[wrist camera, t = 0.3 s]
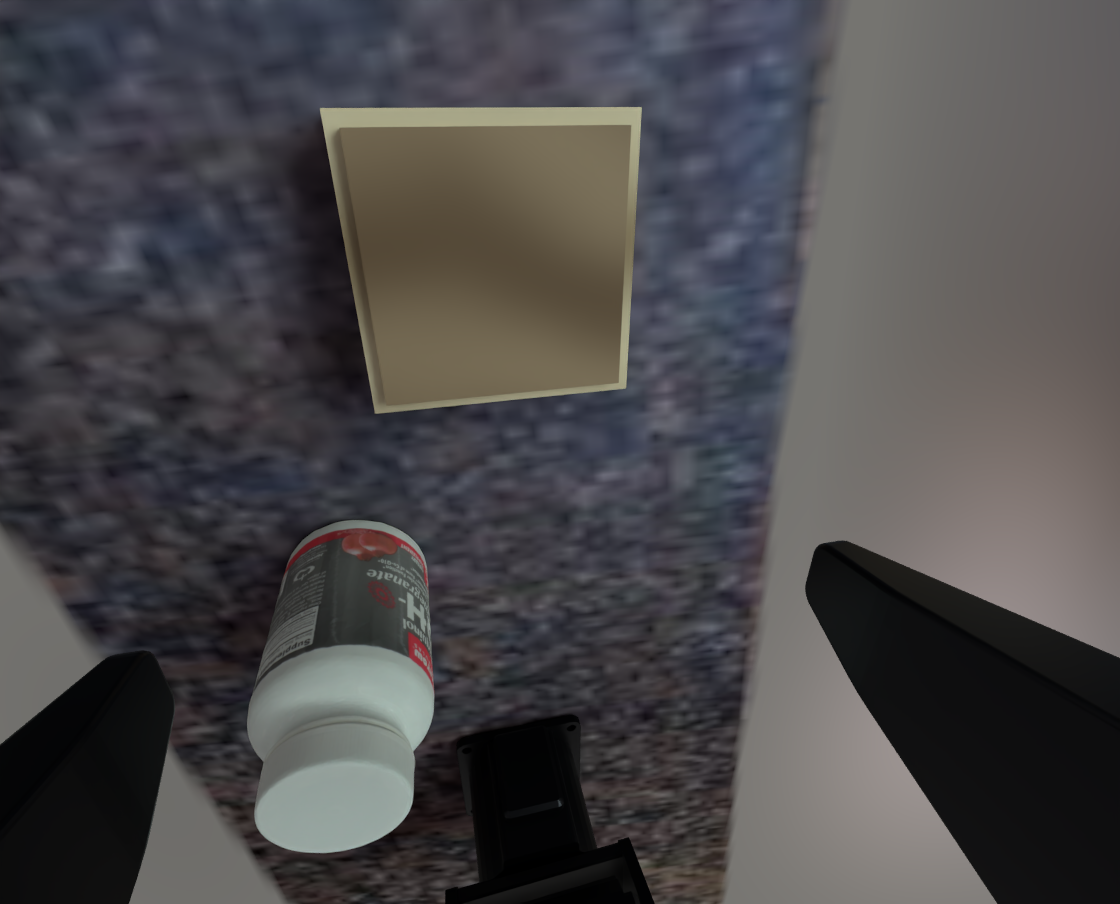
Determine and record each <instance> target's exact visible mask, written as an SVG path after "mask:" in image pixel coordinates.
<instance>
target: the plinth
mask: <svg viewBox="0 0 1120 904" xmlns="http://www.w3.org/2000/svg"><path fill="white" fill-rule="evenodd" d="M641 111H642V107H551V108H320V112H321V118H322V123H323V129H324V134H325V140H326V145H327V151H328V156H329V162H330V167H331V173H332V178H333V184H334V189H335V195H336V200H337V206H338V211H339V217H340V222H341V228H342V233H343V239H344V244H345V250H346V255H347V261H348V266H349V272H350V277H351V283H352V288H353V294H354V299H355V305H356V310H357V316H358V321H359V327H360V332H361V338H362V343H363V349H364V354H365V360H366V365H367V371H368V376H369V382H370V387H371V393H372V398H373V404H374V409H375V414H378V413H388V412H398V411H407V410H417V409H427V408H437V407H447V406H457V405H467V404H477V403H486V402H496V401H506V400H516V399H526V398H536V397H546V396H556V395H565V394H575V393H585V392H595V391H605V390H615V389H625V388H626V378H627V360H628V342H629V324H630V307H631V289H632V271H633V253H634V235H635V218H636V200H637V182H638V164H639V146H640V129H641Z"/></svg>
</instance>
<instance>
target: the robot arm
mask: <svg viewBox="0 0 1120 904" xmlns="http://www.w3.org/2000/svg"><path fill="white" fill-rule="evenodd" d="M805 590H806V596H807V600H808V602H809V604H810V606H811V608H812V610H813V612H814V613H815V615H816V617H817V619H818V621H819V623H820V625H821V626H822V628H823V630H824V632H825V634H826V636H827V638H828V640H829V641H830V643H831V645H832V647H833V649H834V651H835V652H836V654H837V656H838V658H839V660H840V662H841V664H842V666H843V668H844V669H845V671H846V673H847V675H848V677H849V678H850V680H851V682H852V684H853V686H854V687H855V689H856V691H857V693H858V694H859V696H860V697H861V699H862V700H863V702H864V704H865V705H866V707H867V708H868V710H869V711H870V713H871V714H872V716H873V717H874V719H875V720H876V722H877V723H878V725H879V726H880V728H881V729H882V731H883V732H884V734H885V735H886V737H887V738H888V740H889V741H890V743H891V744H892V746H893V747H894V749H895V750H896V752H897V753H898V755H899V756H900V758H901V759H902V761H903V762H904V764H905V765H906V767H907V769H908V770H909V771H910V773H911V775H912V776H913V777H914V779H915V781H916V782H917V784H918V785H919V787H920V788H921V790H922V791H923V792H924V794H925V795H926V797H927V798H928V800H929V802H930V803H931V805H932V806H933V808H934V809H935V810H936V812H937V814H938V815H939V817H940V818H941V819H942V821H943V823H944V824H945V826H946V827H947V829H948V830H949V832H950V833H951V835H952V836H953V838H954V839H955V840H956V842H957V843H958V845H959V847H960V848H961V850H962V851H963V853H964V854H965V856H966V857H967V859H968V860H969V862H970V863H971V865H972V866H973V868H974V869H975V871H976V872H977V874H978V875H979V877H980V878H981V880H982V881H983V883H984V884H985V886H986V887H987V889H988V890H989V892H990V893H991V895H992V896H993V898H994V899H995V901H996V902H997V904H1120V658H1119V657H1116V656H1114V655H1112V654H1109V653H1107V652H1105V651H1102V650H1100V649H1098V648H1095V647H1093V646H1091V645H1088V644H1086V643H1084V642H1081V641H1079V640H1077V639H1074V638H1072V637H1070V636H1067V635H1065V634H1063V633H1060V632H1058V631H1056V630H1053V629H1051V628H1049V627H1046V626H1044V625H1042V624H1039V623H1037V622H1035V621H1032V620H1030V619H1028V618H1025V617H1023V616H1021V615H1018V614H1016V613H1014V612H1011V611H1009V610H1007V609H1004V608H1002V607H1000V606H997V605H995V604H993V603H990V602H988V601H986V600H983V599H981V598H979V597H976V596H974V595H972V594H969V593H967V592H965V591H962V590H960V589H958V588H955V587H953V586H951V585H948V584H946V583H944V582H941V581H939V580H937V579H934V578H932V577H930V576H927V575H925V574H923V573H920V572H918V571H916V570H913V569H911V568H909V567H906V566H904V565H902V564H899V563H897V562H895V561H893V560H890V559H888V558H886V557H883V556H881V555H878V554H876V553H874V552H871V551H869V550H867V549H865V548H862V547H860V546H858V545H855V544H853V543H851V542H848V541H835V542H828V543H823V544H820V545H819V546H818V547H817V548H816V549H815V551H814V554H813V558H812V562H811V566H810V569H809V573H808V577H807V581H806V586H805ZM174 713H175V702H174V697H173V694H172V691H171V689H170V687H169V685H168V683H167V681H166V678H165V676H164V674H163V672H162V670H161V668H160V666H159V664H158V661H157V659H156V658H155V656H154V655H153V654H152V653H151V652H149V651H144V650H142V651H135V652H129V653H123V654H116V655H113V656H110V657H108V658H106V659H105V660H103V661H102V662H100V663H99V664H98V665H97V666H96V667H94V668H93V669H92V670H91V671H89V672H88V673H87V674H86V675H85V676H83V677H82V678H81V679H80V680H79V681H77V682H76V683H75V684H74V685H72V686H71V687H70V688H69V689H67V690H66V691H65V692H64V693H63V694H61V695H60V696H59V697H58V698H56V699H55V700H54V701H53V702H52V703H50V704H49V705H48V706H47V707H46V708H44V709H43V710H42V711H41V712H39V713H38V714H37V715H36V716H35V717H33V718H32V719H31V720H30V721H28V722H27V723H26V724H25V725H24V726H22V727H21V728H20V729H19V730H17V731H16V732H15V733H14V734H13V735H11V736H10V737H9V738H8V739H6V740H5V741H4V742H3V743H2V744H0V904H129V901H130V898H131V895H132V892H133V889H134V886H135V883H136V880H137V877H138V873H139V870H140V867H141V863H142V860H143V857H144V853H145V849H146V846H147V842H148V838H149V834H150V829H151V825H152V821H153V816H154V811H155V806H156V801H157V796H158V791H159V786H160V782H161V777H162V772H163V767H164V762H165V757H166V753H167V748H168V743H169V738H170V733H171V728H172V724H173V719H174ZM580 730H581V726H580V722H579V719H578V717H577V716H574V715H570V716H565V717H560V718H556V719H551V720H546V721H541V722H537V723H532V724H527V725H523V726H518V727H513V728H508V729H504V730H499V731H494V732H489V733H485V734H480V735H475V736H470V737H466V738H463V739H461V740H459V741H458V742H457V745H456V746H457V756H458V762H459V769H460V775H461V782H462V788H463V795H464V801H465V808H466V813H467V815H469V816H473V824H474V834H475V844H476V854H477V864H478V874H479V883H476V884H473V885H469V886H466V887H462V888H459V889H458V887H454V888H450V889H447V890H446V891H445V904H654V901H653V898H652V896H651V893H650V891H649V888H648V885H647V883H646V880H645V878H644V875H643V872H642V870H641V867H640V865H639V862H638V859H637V857H636V854H635V852H634V849H633V846H632V844H631V841H630V839H629V837H628V838H624V839H621V840H618V843H615V844H612V845H608V846H605V847H601V848H598V849H597V845H596V842H595V838H594V834H593V830H592V827H591V823H590V819H589V815H588V811H587V808H586V804H585V800H584V796H583V793H582V789H581V785H580V781H579V779H580Z"/></svg>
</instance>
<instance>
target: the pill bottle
mask: <svg viewBox="0 0 1120 904" xmlns="http://www.w3.org/2000/svg"><path fill="white" fill-rule="evenodd" d="M433 711H434V684H433V671H432V654H431V630H430V614H429V595H428V577H427V566H426V561H425V558H424V555H423V553H422V551H421V550H420V548H419V546H418V545H417V544H416V543H415V542H414V540H413V539H411V538H410V537H409V536H408V535H407V534H405V533H404V532H402V531H400V530H399V529H397V528H394V527H392V526H389V525H387V524H385V523H381V522H373V521H367V520H346V521H341V522H336V523H333V524H330V525H328V526H325V527H323V528H321V529H318V530H315V531H314V532H312V533H311V534H310V535H308V536H307V537H306V538H305V539H303V540H302V541H301V543H300V544H299V545H298V546H297V547H296V549H295V550H294V551H293V553H292V554H291V556H290V559H289V561H288V564H287V567H286V571H285V573H284V577H283V580H282V583H281V588H280V592H279V595H278V599H277V603H276V606H275V611H274V615H273V618H272V622H271V626H270V630H269V634H268V638H267V642H266V646H265V649H264V652H263V656H262V660H261V664H260V667H259V672H258V675H257V679H256V683H255V687H254V690H253V693H252V697H251V700H250V703H249V711H248V718H247V729H248V736H249V739H250V742H251V744H252V747H253V748H254V750H255V752H256V753H257V755H258V756H259V757H260V758H261V759H262V761H264V764H263V769H262V772H261V778H260V783H259V787H258V792H257V798H256V804H255V810H254V816H255V823H256V826H257V828H258V830H259V831H260V833H261V834H262V835H263V836H264V837H265V838H266V839H267V840H269V841H270V842H272V843H274V844H276V845H278V846H280V847H283V848H285V849H289V850H293V851H299V852H308V853H331V852H339V851H345V850H349V849H353V848H357V847H360V846H363V845H366V844H368V843H371V842H373V841H375V840H378V839H379V838H381V837H383V836H384V835H386V834H388V833H389V832H391V831H392V830H394V829H395V828H396V827H397V826H398V825H399V824H400V823H401V822H402V821H403V820H404V819H405V817H406V816H407V814H408V813H409V811H410V808H411V806H412V802H413V795H414V768H415V758H414V754H413V751H414V750H415V749H416V748H417V747H418V745H419V744H420V743H421V741H422V740H423V739H424V737H425V735H426V733H427V731H428V729H429V727H430V724H431V721H432V717H433Z"/></svg>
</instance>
